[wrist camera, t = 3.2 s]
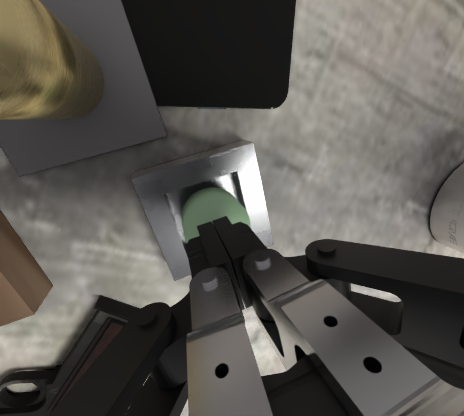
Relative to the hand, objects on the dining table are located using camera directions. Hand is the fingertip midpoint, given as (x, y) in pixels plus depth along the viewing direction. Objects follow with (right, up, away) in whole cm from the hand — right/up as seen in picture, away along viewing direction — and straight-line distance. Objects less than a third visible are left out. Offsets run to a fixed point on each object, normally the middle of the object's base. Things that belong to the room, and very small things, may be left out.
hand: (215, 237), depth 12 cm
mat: (-8, +8, 0) cm, 11 cm away
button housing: (-1, +2, +5) cm, 5 cm away
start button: (0, +1, +3) cm, 3 cm away
